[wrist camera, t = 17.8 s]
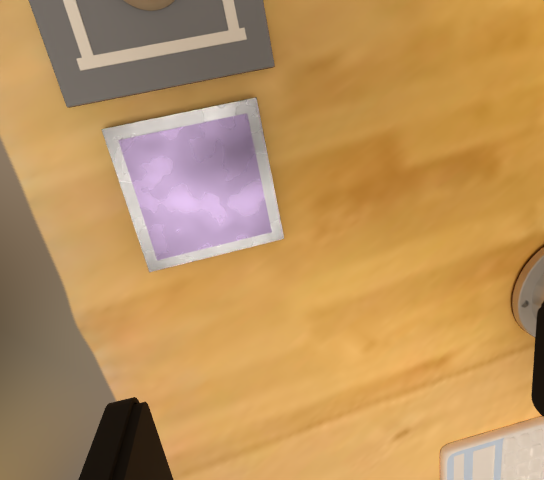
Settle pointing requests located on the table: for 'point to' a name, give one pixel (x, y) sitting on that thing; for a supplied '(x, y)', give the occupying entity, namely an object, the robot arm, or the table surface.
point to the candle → (149, 4)
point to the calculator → (497, 454)
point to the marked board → (149, 44)
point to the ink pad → (196, 183)
